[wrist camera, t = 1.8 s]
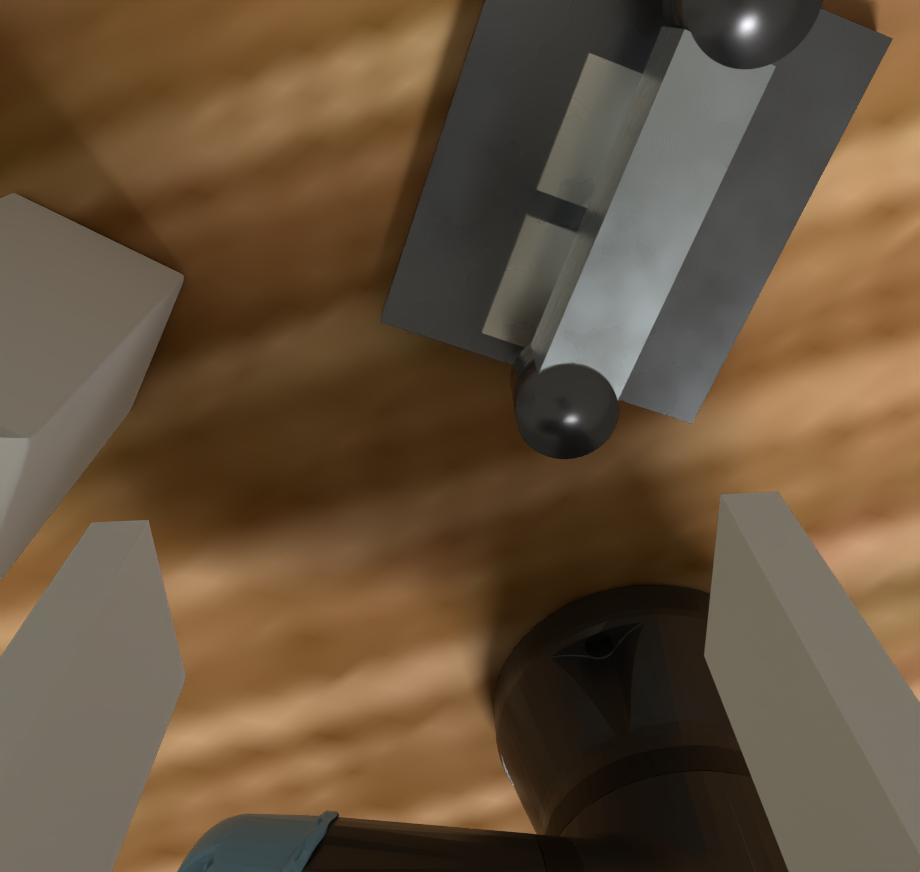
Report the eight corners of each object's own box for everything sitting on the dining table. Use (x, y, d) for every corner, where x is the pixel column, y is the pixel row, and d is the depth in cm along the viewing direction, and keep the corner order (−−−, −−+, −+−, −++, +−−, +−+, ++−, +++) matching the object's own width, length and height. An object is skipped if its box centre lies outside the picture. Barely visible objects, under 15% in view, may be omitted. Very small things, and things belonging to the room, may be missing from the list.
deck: (685, 412, 39) (707, 449, 36) (381, 312, 37) (375, 342, 33) (880, 31, 32) (929, 35, 29) (523, -120, 30) (532, -134, 27)
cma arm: (586, 433, 35) (599, 472, 32) (492, 403, 34) (496, 440, 31) (811, -50, 27) (853, -55, 24) (695, -100, 27) (725, -112, 24)
